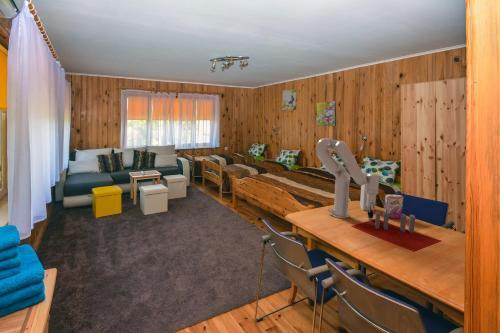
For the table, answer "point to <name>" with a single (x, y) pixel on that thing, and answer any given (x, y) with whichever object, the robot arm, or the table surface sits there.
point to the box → (363, 197)
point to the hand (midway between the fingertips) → (370, 216)
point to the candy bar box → (393, 205)
